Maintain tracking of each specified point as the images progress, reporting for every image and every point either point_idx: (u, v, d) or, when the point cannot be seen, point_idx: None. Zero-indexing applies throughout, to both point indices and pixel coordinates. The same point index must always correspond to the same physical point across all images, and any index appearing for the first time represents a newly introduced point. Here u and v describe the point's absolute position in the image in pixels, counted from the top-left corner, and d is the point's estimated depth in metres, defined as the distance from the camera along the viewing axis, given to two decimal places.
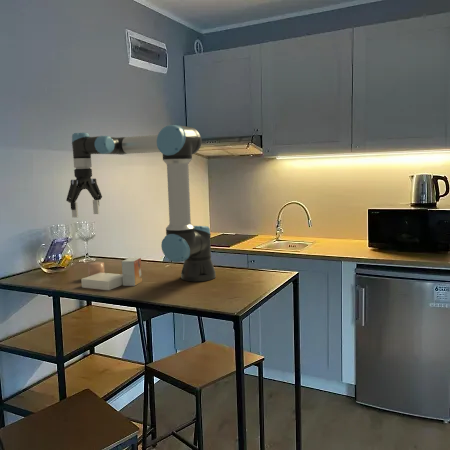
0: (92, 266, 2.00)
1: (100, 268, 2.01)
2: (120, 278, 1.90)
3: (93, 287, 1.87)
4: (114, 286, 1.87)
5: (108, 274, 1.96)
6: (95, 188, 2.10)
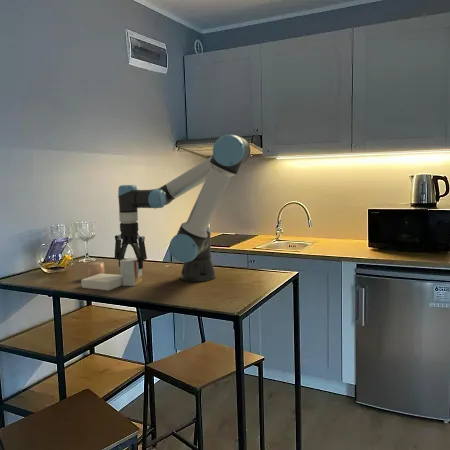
0: (92, 266, 2.00)
1: (100, 268, 2.01)
2: (120, 279, 1.90)
3: (93, 288, 1.87)
4: (114, 287, 1.87)
5: (108, 275, 1.96)
6: None
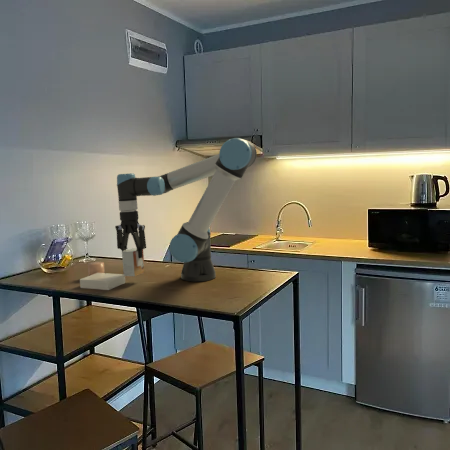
0: (92, 266, 2.00)
1: (100, 268, 2.01)
2: (119, 278, 1.91)
3: (92, 287, 1.87)
4: (113, 286, 1.87)
5: (106, 274, 1.96)
6: None
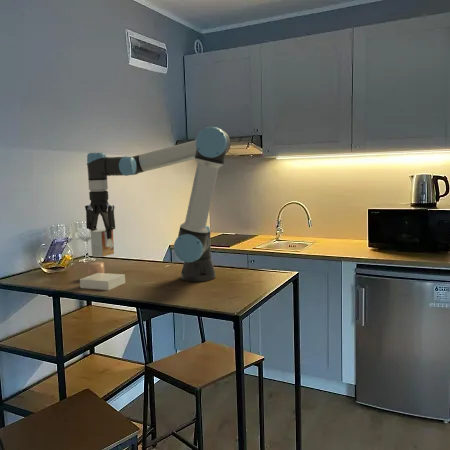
0: (92, 266, 2.00)
1: (100, 268, 2.01)
2: (119, 278, 1.91)
3: (92, 287, 1.87)
4: (114, 286, 1.87)
5: (106, 274, 1.96)
6: None
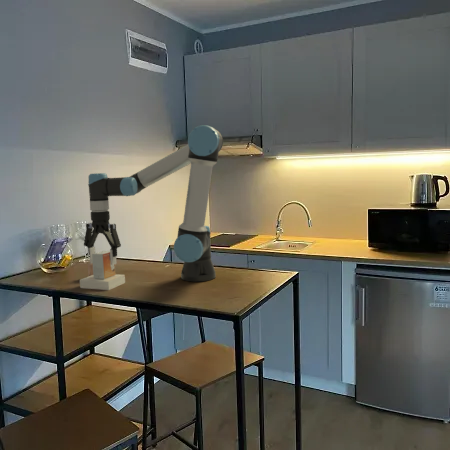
0: (92, 266, 2.00)
1: None
2: (119, 278, 1.91)
3: (92, 288, 1.87)
4: (114, 286, 1.87)
5: None
6: None
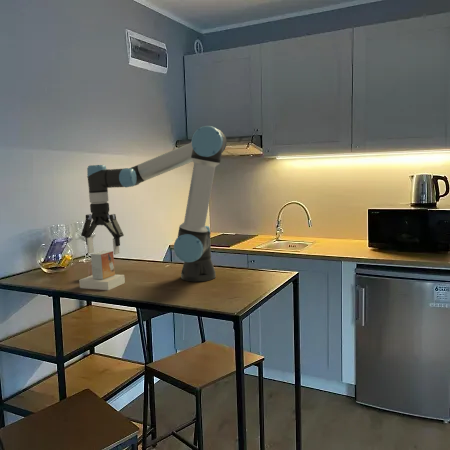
0: None
1: None
2: (119, 278, 1.91)
3: (92, 288, 1.86)
4: (113, 286, 1.87)
5: None
6: None
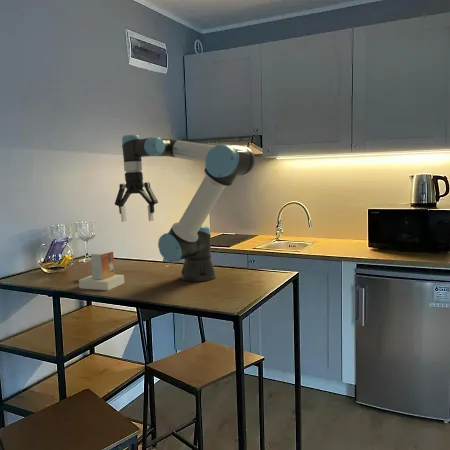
0: None
1: None
2: (118, 278, 1.90)
3: (91, 288, 1.86)
4: (113, 286, 1.87)
5: None
6: None
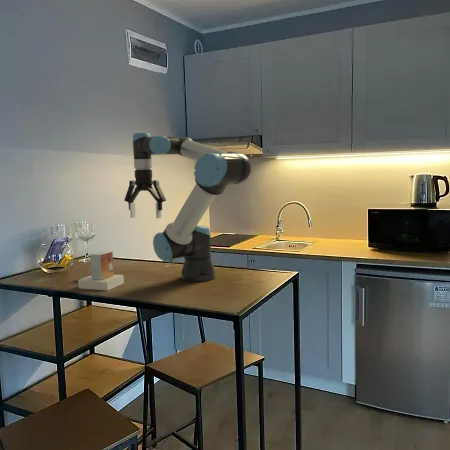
0: None
1: None
2: (118, 278, 1.90)
3: (91, 288, 1.86)
4: (112, 286, 1.87)
5: None
6: None
